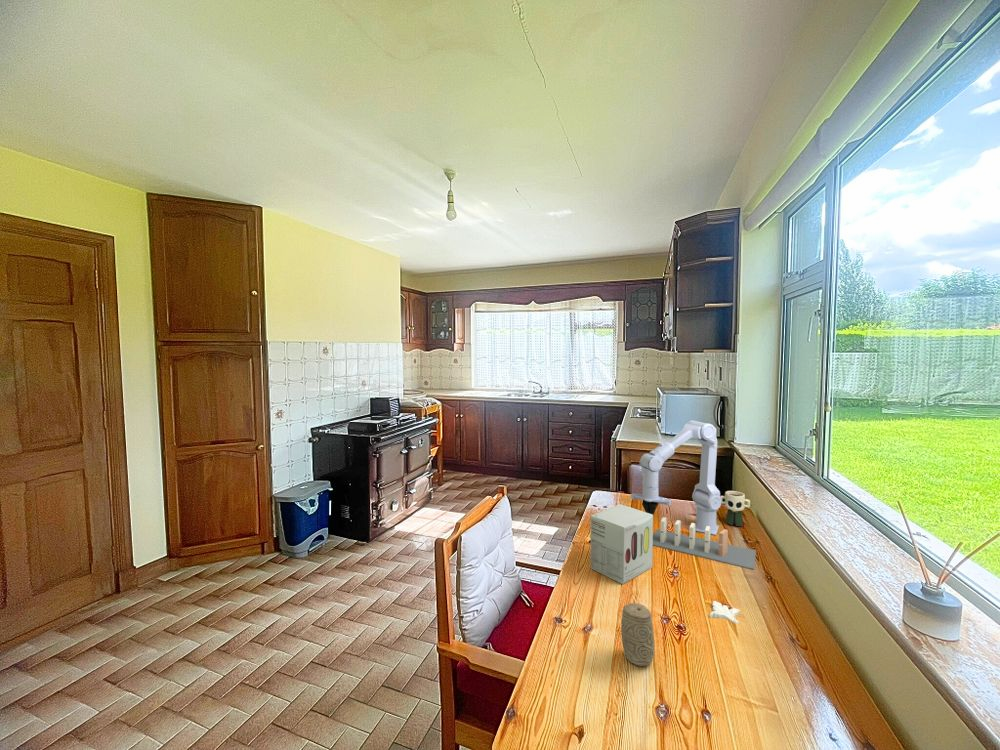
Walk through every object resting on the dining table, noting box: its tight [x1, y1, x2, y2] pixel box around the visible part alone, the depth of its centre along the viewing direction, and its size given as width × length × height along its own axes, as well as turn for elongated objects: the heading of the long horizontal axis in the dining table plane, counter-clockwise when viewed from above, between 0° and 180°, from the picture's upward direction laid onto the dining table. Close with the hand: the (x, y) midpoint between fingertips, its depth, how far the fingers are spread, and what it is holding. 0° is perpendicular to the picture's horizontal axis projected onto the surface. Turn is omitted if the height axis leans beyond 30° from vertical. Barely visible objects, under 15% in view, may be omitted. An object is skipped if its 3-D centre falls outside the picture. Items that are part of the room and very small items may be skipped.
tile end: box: [718, 528, 729, 556], centre depth 145 cm, size 5×1×8 cm, turn 131°
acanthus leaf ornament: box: [709, 600, 741, 625], centre depth 112 cm, size 8×7×2 cm
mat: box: [653, 528, 757, 571], centre depth 151 cm, size 15×34×1 cm, turn 56°
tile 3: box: [688, 522, 696, 549], centre depth 151 cm, size 5×1×8 cm, turn 146°
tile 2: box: [674, 519, 682, 546], centre depth 154 cm, size 5×1×8 cm, turn 146°
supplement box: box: [590, 503, 654, 585], centre depth 137 cm, size 17×13×18 cm
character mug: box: [720, 490, 751, 527], centre depth 171 cm, size 11×7×13 cm, turn 60°
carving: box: [620, 602, 655, 667], centre depth 96 cm, size 6×8×12 cm
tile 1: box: [659, 516, 668, 543], centre depth 156 cm, size 5×1×8 cm, turn 146°
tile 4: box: [704, 526, 711, 553], centre depth 148 cm, size 5×1×8 cm, turn 146°
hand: (650, 520), depth 159 cm, fingers closed
